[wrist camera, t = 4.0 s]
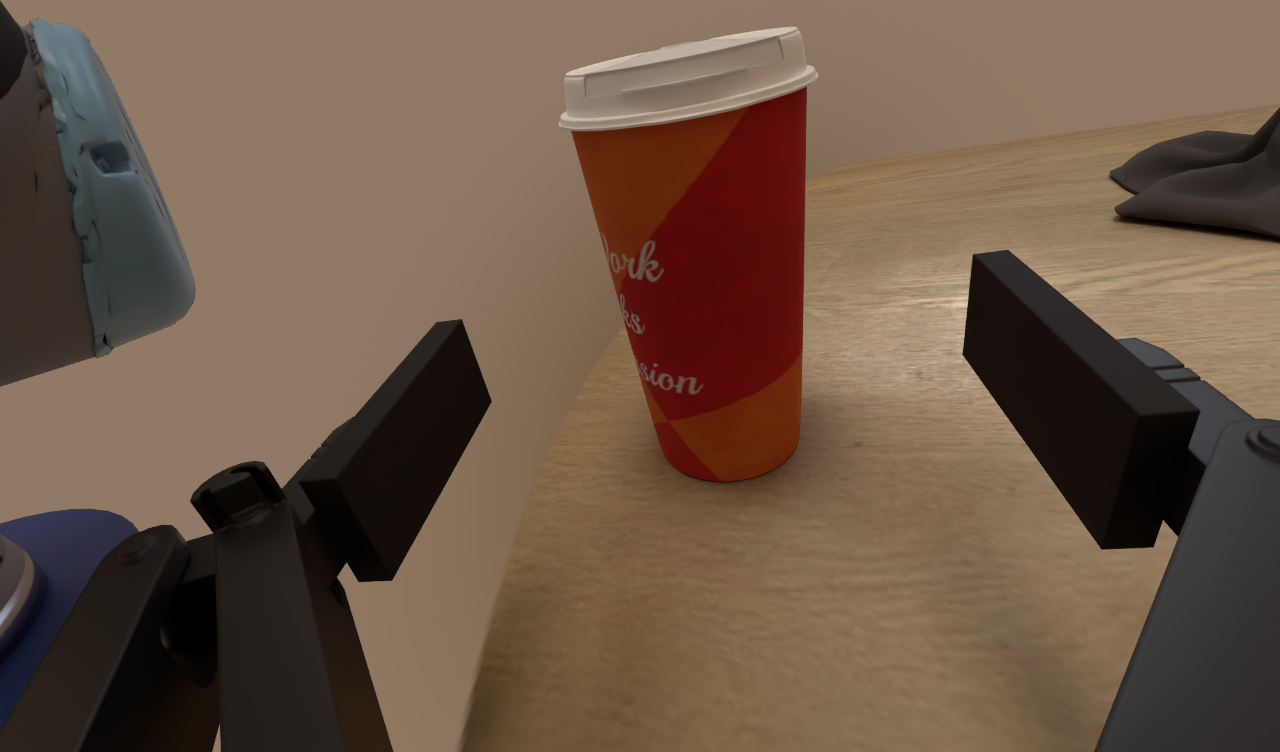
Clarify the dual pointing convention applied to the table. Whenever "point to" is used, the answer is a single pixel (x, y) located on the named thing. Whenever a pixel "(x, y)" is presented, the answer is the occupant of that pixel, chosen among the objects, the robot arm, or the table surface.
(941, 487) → the table surface
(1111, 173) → the cloth
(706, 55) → the coffee cup
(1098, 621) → the table surface
